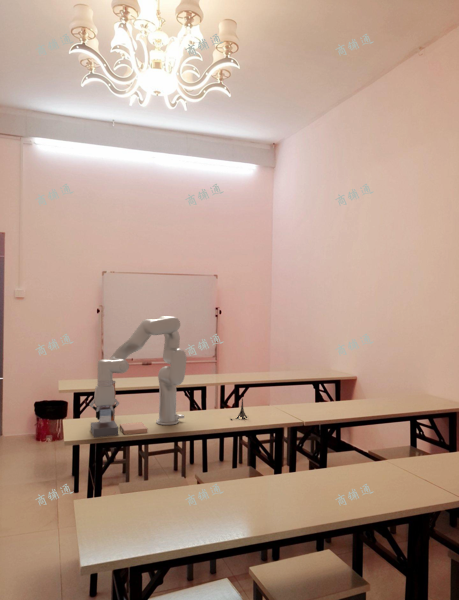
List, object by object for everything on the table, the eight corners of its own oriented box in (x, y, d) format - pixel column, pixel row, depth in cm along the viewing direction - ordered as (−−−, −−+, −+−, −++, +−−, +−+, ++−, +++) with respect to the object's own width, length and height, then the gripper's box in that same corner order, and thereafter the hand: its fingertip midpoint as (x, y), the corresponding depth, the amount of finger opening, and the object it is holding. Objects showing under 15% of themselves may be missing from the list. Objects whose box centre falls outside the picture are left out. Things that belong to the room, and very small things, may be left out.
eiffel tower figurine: (252, 416, 282) (253, 394, 282) (256, 421, 272) (256, 398, 272) (228, 417, 280) (228, 395, 280) (231, 421, 270) (231, 398, 270)
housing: (108, 417, 246) (108, 405, 247) (110, 421, 238) (111, 409, 238) (97, 418, 244) (97, 406, 244) (99, 422, 236) (100, 409, 236)
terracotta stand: (141, 425, 256) (141, 422, 256) (147, 432, 243) (147, 428, 243) (119, 427, 251) (119, 423, 251) (124, 434, 238) (124, 430, 238)
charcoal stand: (113, 428, 250) (114, 420, 250) (118, 435, 237) (118, 427, 237) (90, 430, 245) (90, 422, 245) (93, 437, 233) (93, 429, 233)
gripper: (120, 381, 248) (119, 415, 248) (87, 383, 242) (86, 418, 241) (123, 383, 241) (122, 419, 241) (88, 385, 235) (87, 421, 235)
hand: (104, 418), depth 241 cm, fingers closed on housing, 5 cm apart
